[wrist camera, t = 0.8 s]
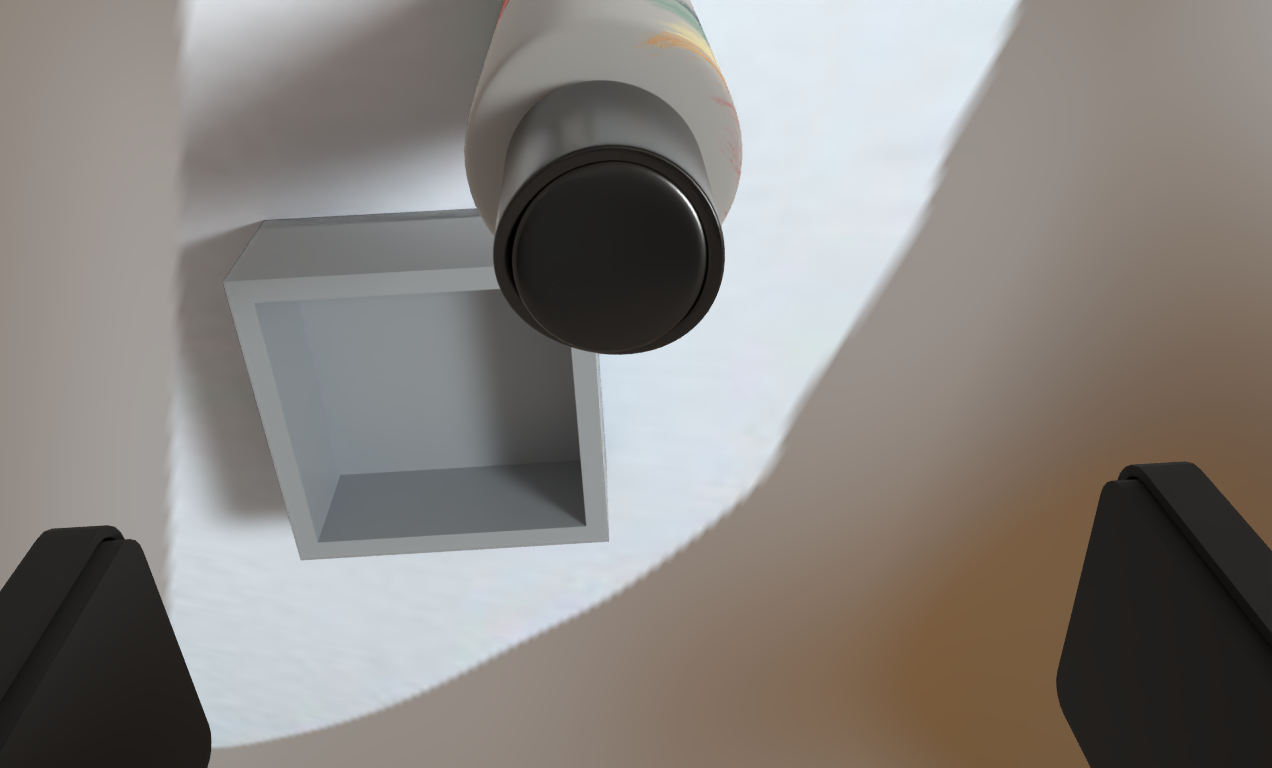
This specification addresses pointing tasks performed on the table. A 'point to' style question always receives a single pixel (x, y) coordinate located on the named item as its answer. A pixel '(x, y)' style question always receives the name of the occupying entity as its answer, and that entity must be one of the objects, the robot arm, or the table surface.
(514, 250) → the lotion bottle
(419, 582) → the table surface
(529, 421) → the box
